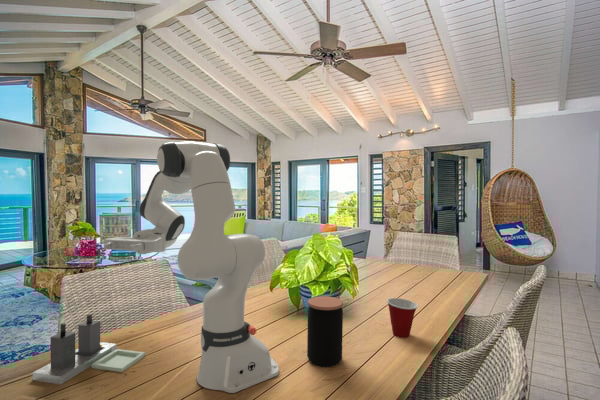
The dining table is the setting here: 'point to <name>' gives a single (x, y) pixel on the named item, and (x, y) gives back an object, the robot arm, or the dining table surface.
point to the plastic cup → (401, 316)
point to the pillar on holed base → (68, 358)
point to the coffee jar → (325, 331)
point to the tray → (118, 360)
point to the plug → (89, 337)
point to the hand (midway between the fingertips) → (117, 247)
